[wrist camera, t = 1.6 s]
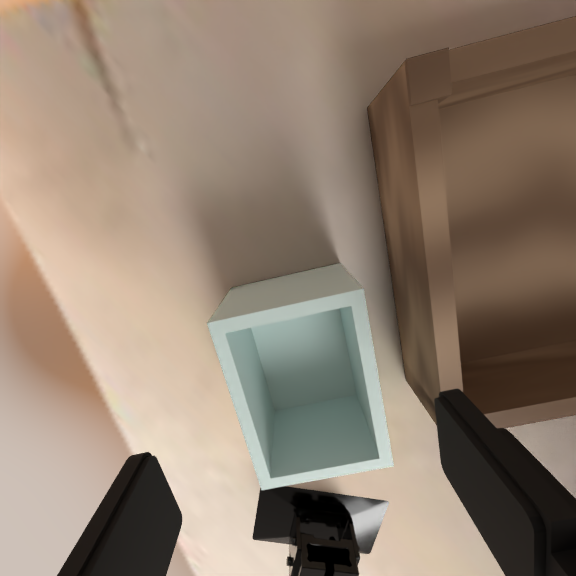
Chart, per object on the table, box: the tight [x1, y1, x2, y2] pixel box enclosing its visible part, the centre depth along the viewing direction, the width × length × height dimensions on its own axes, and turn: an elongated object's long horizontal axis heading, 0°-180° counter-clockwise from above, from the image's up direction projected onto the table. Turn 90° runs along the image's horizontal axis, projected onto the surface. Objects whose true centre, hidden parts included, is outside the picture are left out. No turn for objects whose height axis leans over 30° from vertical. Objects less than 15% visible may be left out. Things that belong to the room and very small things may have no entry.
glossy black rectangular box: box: [253, 486, 389, 576], centre depth 21 cm, size 12×7×5 cm, turn 80°
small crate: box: [207, 263, 394, 490], centre depth 16 cm, size 9×6×6 cm
